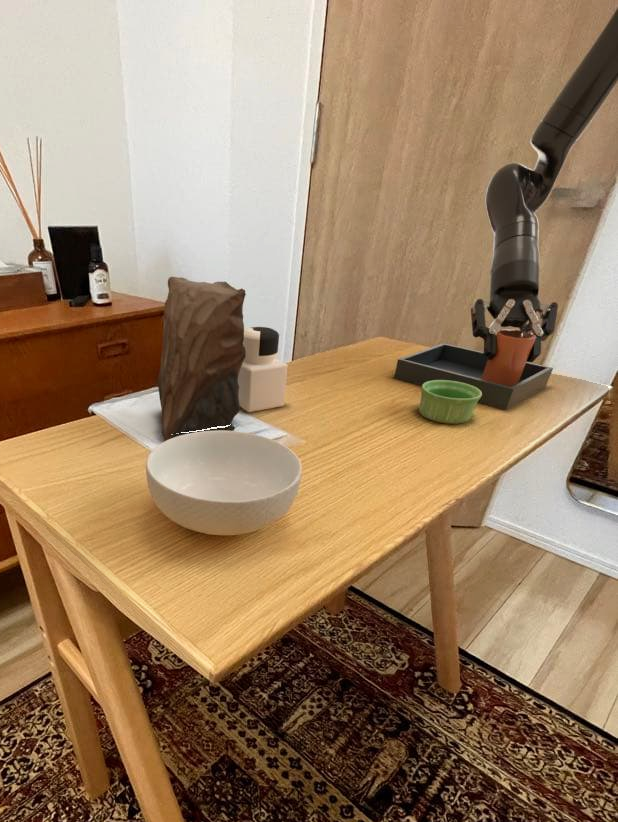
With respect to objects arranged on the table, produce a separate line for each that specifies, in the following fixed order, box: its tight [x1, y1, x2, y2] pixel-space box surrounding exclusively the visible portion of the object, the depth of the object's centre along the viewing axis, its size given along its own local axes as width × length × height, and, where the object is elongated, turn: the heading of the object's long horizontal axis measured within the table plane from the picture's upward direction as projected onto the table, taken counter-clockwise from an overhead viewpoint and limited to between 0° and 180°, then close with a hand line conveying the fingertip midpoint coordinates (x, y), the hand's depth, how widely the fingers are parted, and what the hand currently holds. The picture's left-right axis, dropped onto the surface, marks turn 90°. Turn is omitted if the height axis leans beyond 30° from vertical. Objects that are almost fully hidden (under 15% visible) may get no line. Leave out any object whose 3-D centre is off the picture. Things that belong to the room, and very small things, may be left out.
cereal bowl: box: [145, 430, 303, 536], centre depth 55 cm, size 17×17×7 cm
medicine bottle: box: [238, 326, 288, 413], centre depth 81 cm, size 7×7×12 cm
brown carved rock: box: [157, 276, 247, 442], centre depth 72 cm, size 13×13×20 cm
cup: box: [481, 329, 536, 387], centre depth 88 cm, size 6×6×9 cm
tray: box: [393, 342, 554, 411], centre depth 93 cm, size 18×22×4 cm
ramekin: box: [418, 380, 482, 425], centre depth 80 cm, size 9×9×4 cm
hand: (511, 358), depth 86 cm, fingers closed on cup, 6 cm apart
